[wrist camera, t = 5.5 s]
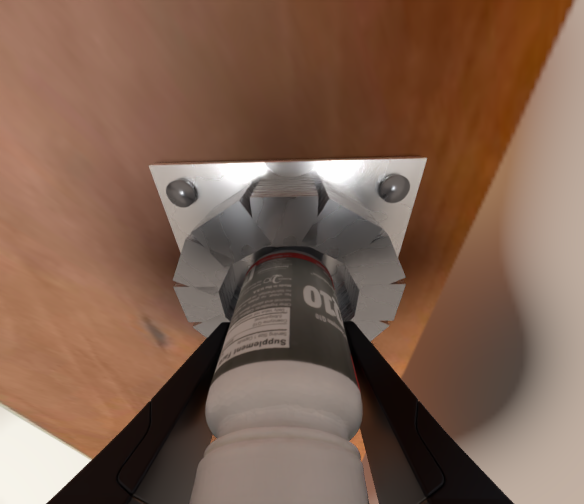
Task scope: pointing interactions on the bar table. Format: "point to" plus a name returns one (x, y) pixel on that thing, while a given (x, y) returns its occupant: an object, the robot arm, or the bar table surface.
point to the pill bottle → (284, 394)
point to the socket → (290, 228)
